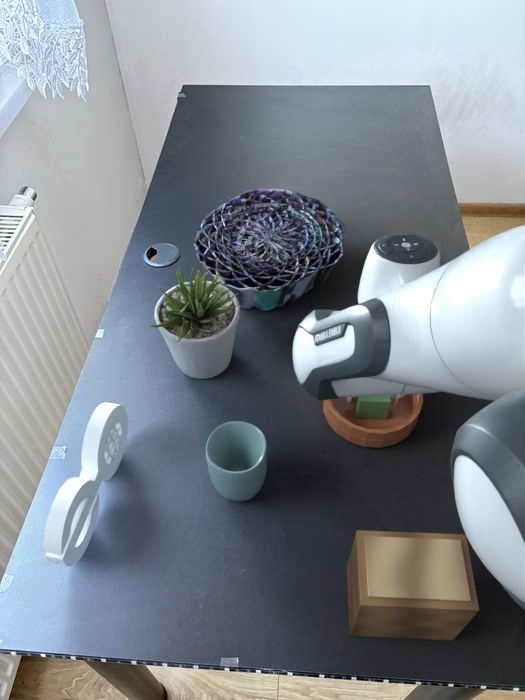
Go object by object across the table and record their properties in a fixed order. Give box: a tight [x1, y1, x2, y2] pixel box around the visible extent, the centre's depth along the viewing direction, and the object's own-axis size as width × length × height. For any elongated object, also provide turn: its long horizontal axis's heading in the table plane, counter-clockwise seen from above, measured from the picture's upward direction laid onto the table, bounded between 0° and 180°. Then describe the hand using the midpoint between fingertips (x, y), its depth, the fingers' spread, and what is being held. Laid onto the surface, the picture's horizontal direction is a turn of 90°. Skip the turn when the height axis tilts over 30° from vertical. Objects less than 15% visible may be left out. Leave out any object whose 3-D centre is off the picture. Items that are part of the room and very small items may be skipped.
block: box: [355, 395, 391, 419], centre depth 88 cm, size 4×4×4 cm
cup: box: [205, 420, 268, 502], centre depth 79 cm, size 8×8×10 cm
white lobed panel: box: [43, 402, 129, 567], centre depth 78 cm, size 22×2×10 cm, turn 169°
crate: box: [346, 529, 480, 641], centre depth 68 cm, size 12×8×12 cm, turn 87°
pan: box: [322, 394, 424, 449], centre depth 89 cm, size 14×14×4 cm
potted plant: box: [149, 265, 241, 380], centre depth 89 cm, size 13×14×20 cm
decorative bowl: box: [192, 188, 346, 312], centre depth 107 cm, size 26×28×10 cm
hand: (371, 400), depth 88 cm, fingers closed on block, 4 cm apart
